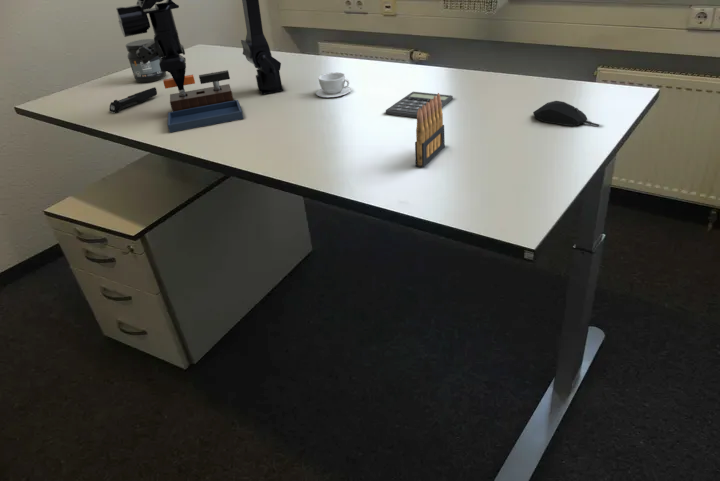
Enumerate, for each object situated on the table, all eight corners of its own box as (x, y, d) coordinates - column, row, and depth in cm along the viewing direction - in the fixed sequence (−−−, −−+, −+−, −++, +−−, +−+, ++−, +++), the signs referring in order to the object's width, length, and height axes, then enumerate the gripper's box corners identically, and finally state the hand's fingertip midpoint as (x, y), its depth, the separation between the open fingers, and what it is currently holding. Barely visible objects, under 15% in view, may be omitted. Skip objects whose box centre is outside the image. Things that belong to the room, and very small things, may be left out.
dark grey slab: (234, 101, 157) (227, 70, 152) (235, 103, 155) (228, 71, 150) (206, 106, 155) (198, 75, 150) (207, 108, 154) (199, 76, 149)
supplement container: (154, 72, 193) (144, 37, 186) (173, 75, 187) (163, 39, 180) (129, 81, 186) (117, 45, 179) (147, 85, 180) (136, 47, 174)
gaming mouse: (593, 131, 117) (596, 113, 115) (528, 119, 125) (529, 102, 123) (604, 121, 121) (607, 103, 118) (540, 110, 129) (542, 94, 127)
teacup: (310, 98, 153) (307, 81, 150) (325, 86, 161) (323, 70, 158) (342, 99, 149) (341, 82, 147) (356, 87, 157) (355, 71, 154)
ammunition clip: (437, 145, 118) (436, 91, 112) (445, 146, 117) (444, 91, 111) (415, 166, 111) (413, 109, 104) (423, 167, 110) (421, 110, 103)
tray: (239, 106, 153) (237, 99, 152) (243, 118, 144) (241, 111, 143) (170, 119, 149) (167, 112, 148) (169, 132, 140) (167, 125, 139)
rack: (232, 99, 159) (229, 83, 156) (235, 106, 153) (231, 90, 151) (174, 109, 156) (170, 94, 153) (174, 117, 150) (169, 101, 147)
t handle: (201, 106, 155) (193, 74, 150) (201, 108, 153) (193, 76, 148) (172, 111, 153) (163, 79, 148) (172, 113, 152) (163, 81, 147)
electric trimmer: (161, 97, 167) (158, 87, 166) (116, 113, 158) (112, 103, 156) (154, 96, 170) (151, 85, 168) (109, 111, 160) (105, 101, 158)
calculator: (385, 109, 136) (412, 90, 147) (385, 113, 137) (413, 94, 147) (427, 115, 131) (453, 94, 141) (427, 118, 131) (453, 98, 142)
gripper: (134, 27, 148) (152, 84, 156) (130, 41, 132) (149, 104, 141) (176, 21, 150) (191, 77, 158) (177, 34, 134) (193, 96, 143)
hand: (181, 88), depth 150 cm, fingers closed on t handle, 2 cm apart
